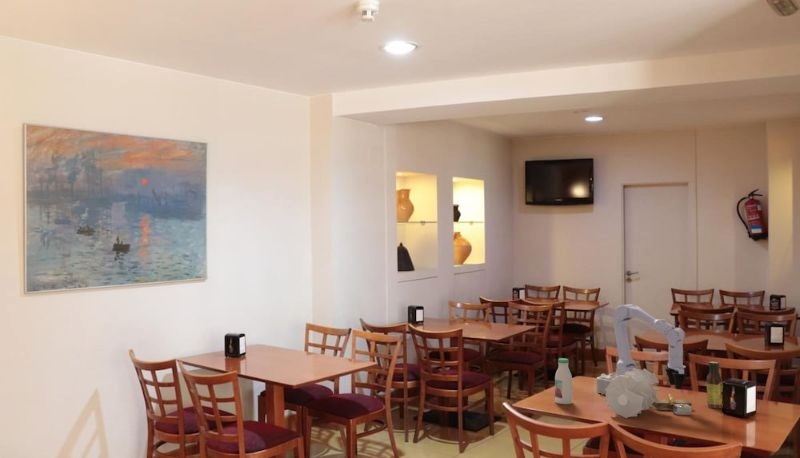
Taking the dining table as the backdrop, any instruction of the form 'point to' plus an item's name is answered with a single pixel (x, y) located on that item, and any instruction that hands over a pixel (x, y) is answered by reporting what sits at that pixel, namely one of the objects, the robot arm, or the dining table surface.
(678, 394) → the dining table surface
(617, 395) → the spiral staircase
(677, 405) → the white block with knob
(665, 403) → the tan flat board
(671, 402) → the lever
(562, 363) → the milk bottle
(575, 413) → the dining table surface
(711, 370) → the sauce bottle
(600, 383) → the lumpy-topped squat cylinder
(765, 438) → the dining table surface
